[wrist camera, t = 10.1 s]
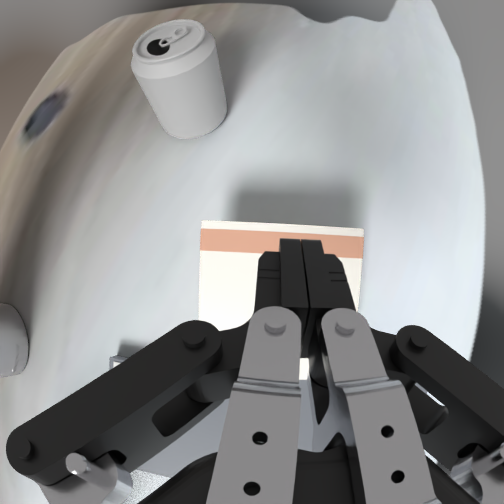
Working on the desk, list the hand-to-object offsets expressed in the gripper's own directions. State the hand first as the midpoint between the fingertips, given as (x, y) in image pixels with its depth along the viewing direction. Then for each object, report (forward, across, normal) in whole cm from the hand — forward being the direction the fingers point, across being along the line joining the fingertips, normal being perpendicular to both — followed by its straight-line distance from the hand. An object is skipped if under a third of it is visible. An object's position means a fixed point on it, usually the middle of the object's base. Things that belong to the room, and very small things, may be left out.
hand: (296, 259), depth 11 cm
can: (+24, +10, -2) cm, 26 cm away
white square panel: (+4, 0, +15) cm, 16 cm away
